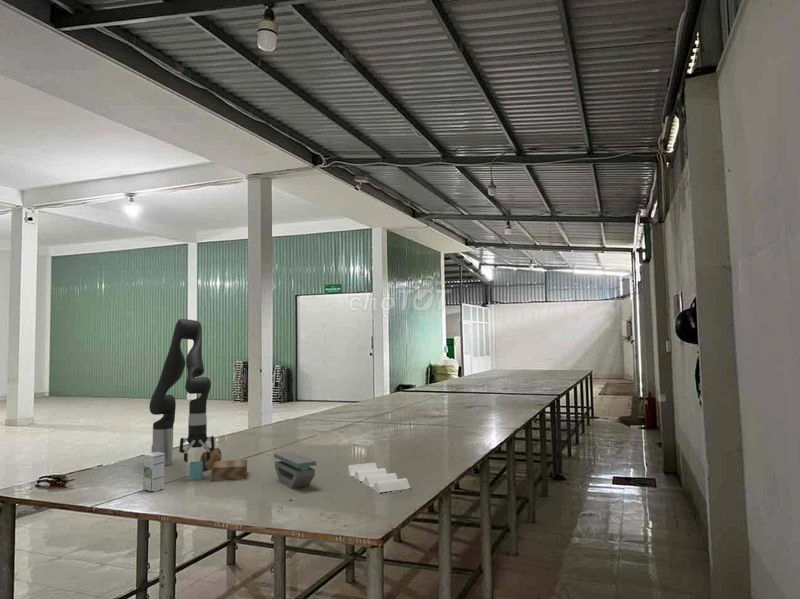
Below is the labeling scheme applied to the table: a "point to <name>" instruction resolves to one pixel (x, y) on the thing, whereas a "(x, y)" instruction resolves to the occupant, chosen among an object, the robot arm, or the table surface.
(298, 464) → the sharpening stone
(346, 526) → the table surface
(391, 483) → the white corrugated sheet
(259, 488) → the table surface
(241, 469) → the walnut block
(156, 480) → the syrup box
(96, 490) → the table surface
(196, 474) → the teal block
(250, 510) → the table surface
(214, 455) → the tin
